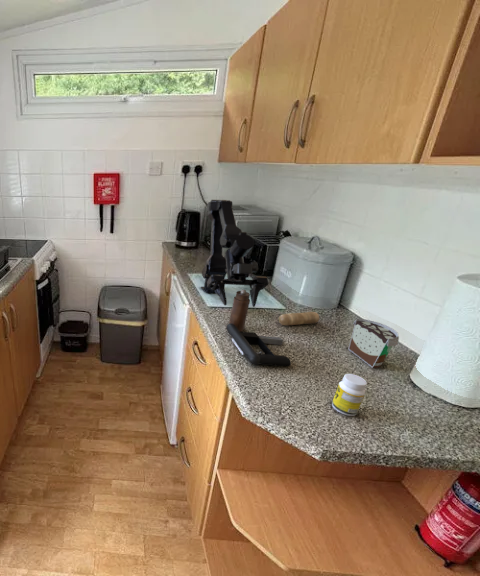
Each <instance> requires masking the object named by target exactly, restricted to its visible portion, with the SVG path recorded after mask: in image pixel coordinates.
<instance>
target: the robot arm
mask: <svg viewBox="0 0 480 576" xmlns="http://www.w3.org/2000/svg"><path fill="white" fill-rule="evenodd" d="M206 211H207V216H208V218H209V220H210V222H211V226H210V231H211V232H210V253H209V257H208V258H207V260H205V264H204V266H203V267H202V270H201V277H203V279H204V284H203V286H200V289H201V290H202V291H204V292H205V293H206V294H216V295H217V296H218V297H219V300H221V302H222V304H223V306H227V304H228V302H227V295H226V287H225V286H226V285H231V286H249V288H250V290H249V294H250V296H249V297H250V302H251V306H252V308H254V307H256V306H257V305H256V304H257V301H258V296H259V294H260V292H261V291H262V290H264V289H265V288H266V287H267V286H269V285H270V280H269V278H268V277H267V276H262V275H261V276H260V275H255V276H254V277H253V278H252V279H247V278H249V277H250V275H253V273H257V272H258V271H259V264H258V261H251V262H249V263H246V262H245V261H244V257H246V256H247V255H248V254H249V252H250V251H251V249H253V247H254V246H255V240H254V238H252V236H250V235H248V233H247V232H246V231H242V229H241V228H239V226H237V224H236V219H235V215H234V210H233V201H232V200H229V199H228V200H227V199H211V200H210V201H208V202H207V205H206ZM223 249H227V250H226V251H225V252H224V255H223ZM226 276H227V278H226Z"/></svg>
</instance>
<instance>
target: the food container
mask: <svg viewBox="0 0 480 576" xmlns="http://www.w3.org/2000/svg"><path fill="white" fill-rule="evenodd" d="M352 325H353V330H352V333H351V337H350V340H349V344H348V348H347V350H348V351H349V352H351V353H352V354H354V355H355V356H356V357H358V358H359V359H360V360H362V362H364V363H365V364H367V365H368V366H369V367H371V368H372V369H378V368H380V367H381V366H382V365H383V363H384V362H385V360H386V359H387V356H388V355H389V353H390V352H391V350H392V348H393V347H395V346H397V345H398V344H399V340H400V336H399V333H398V332H397V330H395V329H393V328H392V327H390V326H388V325H386V324H383V323H382V322H381V323H380V322H378V321H374V320H370V319H365V318H356V319H355V320H354V321H353V323H352Z"/></svg>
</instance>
